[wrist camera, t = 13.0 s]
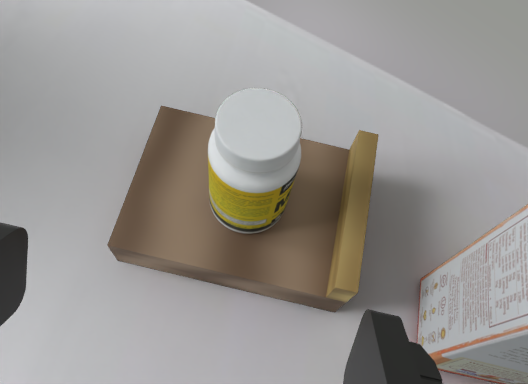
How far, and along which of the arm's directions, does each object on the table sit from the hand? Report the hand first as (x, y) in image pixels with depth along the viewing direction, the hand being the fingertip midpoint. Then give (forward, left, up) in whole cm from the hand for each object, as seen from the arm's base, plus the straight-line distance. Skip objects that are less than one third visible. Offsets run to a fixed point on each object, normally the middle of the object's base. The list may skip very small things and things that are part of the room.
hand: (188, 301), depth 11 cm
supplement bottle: (0, +10, -15) cm, 18 cm away
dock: (0, +10, -18) cm, 21 cm away
